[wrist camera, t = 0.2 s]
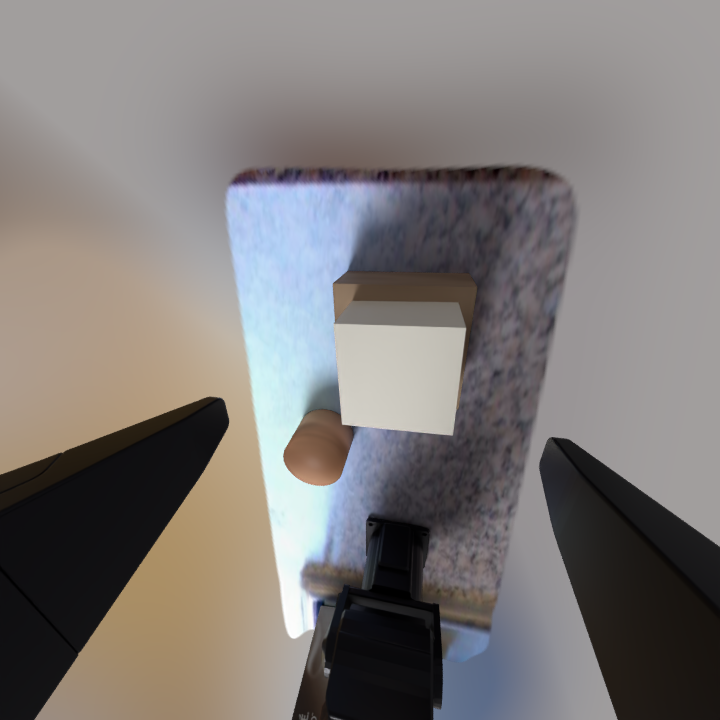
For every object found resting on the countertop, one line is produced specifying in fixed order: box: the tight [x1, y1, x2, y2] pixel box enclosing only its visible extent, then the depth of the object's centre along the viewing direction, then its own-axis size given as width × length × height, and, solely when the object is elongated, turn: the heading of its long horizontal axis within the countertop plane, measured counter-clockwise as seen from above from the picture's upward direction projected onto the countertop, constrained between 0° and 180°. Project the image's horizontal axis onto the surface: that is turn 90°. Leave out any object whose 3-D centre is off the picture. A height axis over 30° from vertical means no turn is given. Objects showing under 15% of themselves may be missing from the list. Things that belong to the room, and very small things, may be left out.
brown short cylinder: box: [283, 409, 353, 486], centre depth 26 cm, size 5×5×4 cm
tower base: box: [333, 271, 477, 410], centre depth 20 cm, size 8×8×4 cm
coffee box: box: [292, 606, 335, 720], centre depth 36 cm, size 9×6×16 cm
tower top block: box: [334, 301, 466, 436], centre depth 17 cm, size 6×6×4 cm
